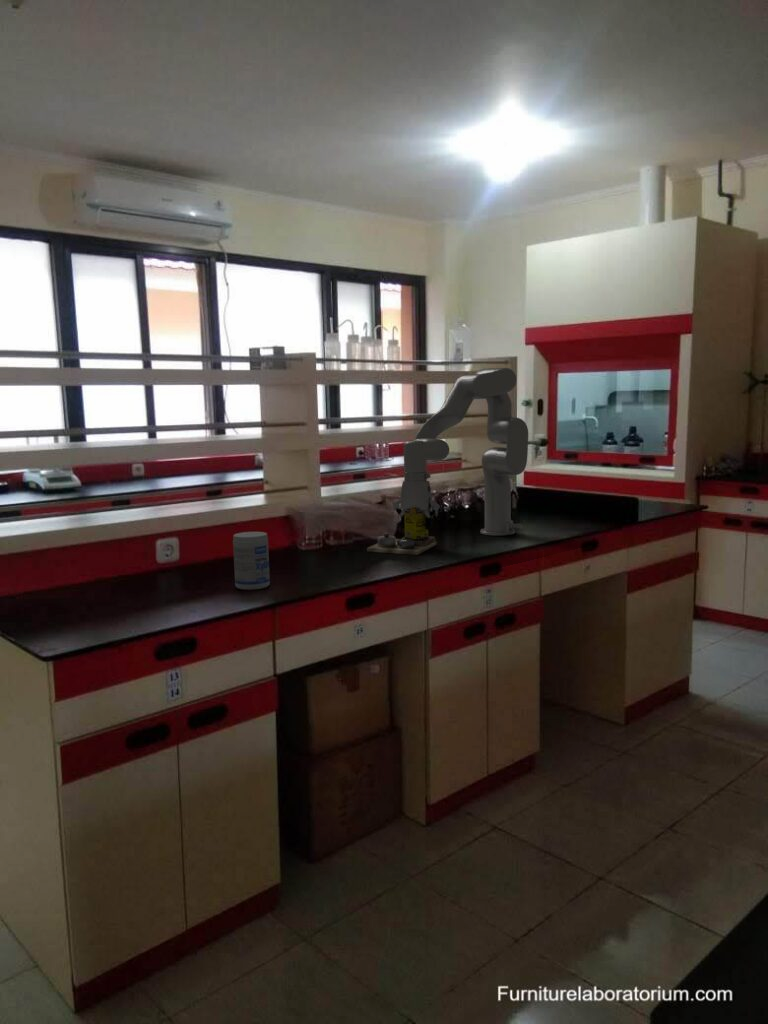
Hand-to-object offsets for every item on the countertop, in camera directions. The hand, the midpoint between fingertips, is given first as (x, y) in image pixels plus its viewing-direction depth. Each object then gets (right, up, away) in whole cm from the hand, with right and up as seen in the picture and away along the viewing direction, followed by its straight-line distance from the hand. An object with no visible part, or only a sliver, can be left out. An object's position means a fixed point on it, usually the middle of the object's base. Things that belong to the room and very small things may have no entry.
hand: (416, 528), depth 266 cm
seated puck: (-3, -6, -7) cm, 10 cm away
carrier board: (-5, -7, -1) cm, 8 cm away
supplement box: (0, -4, +1) cm, 4 cm away
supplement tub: (-47, -15, -50) cm, 71 cm away
